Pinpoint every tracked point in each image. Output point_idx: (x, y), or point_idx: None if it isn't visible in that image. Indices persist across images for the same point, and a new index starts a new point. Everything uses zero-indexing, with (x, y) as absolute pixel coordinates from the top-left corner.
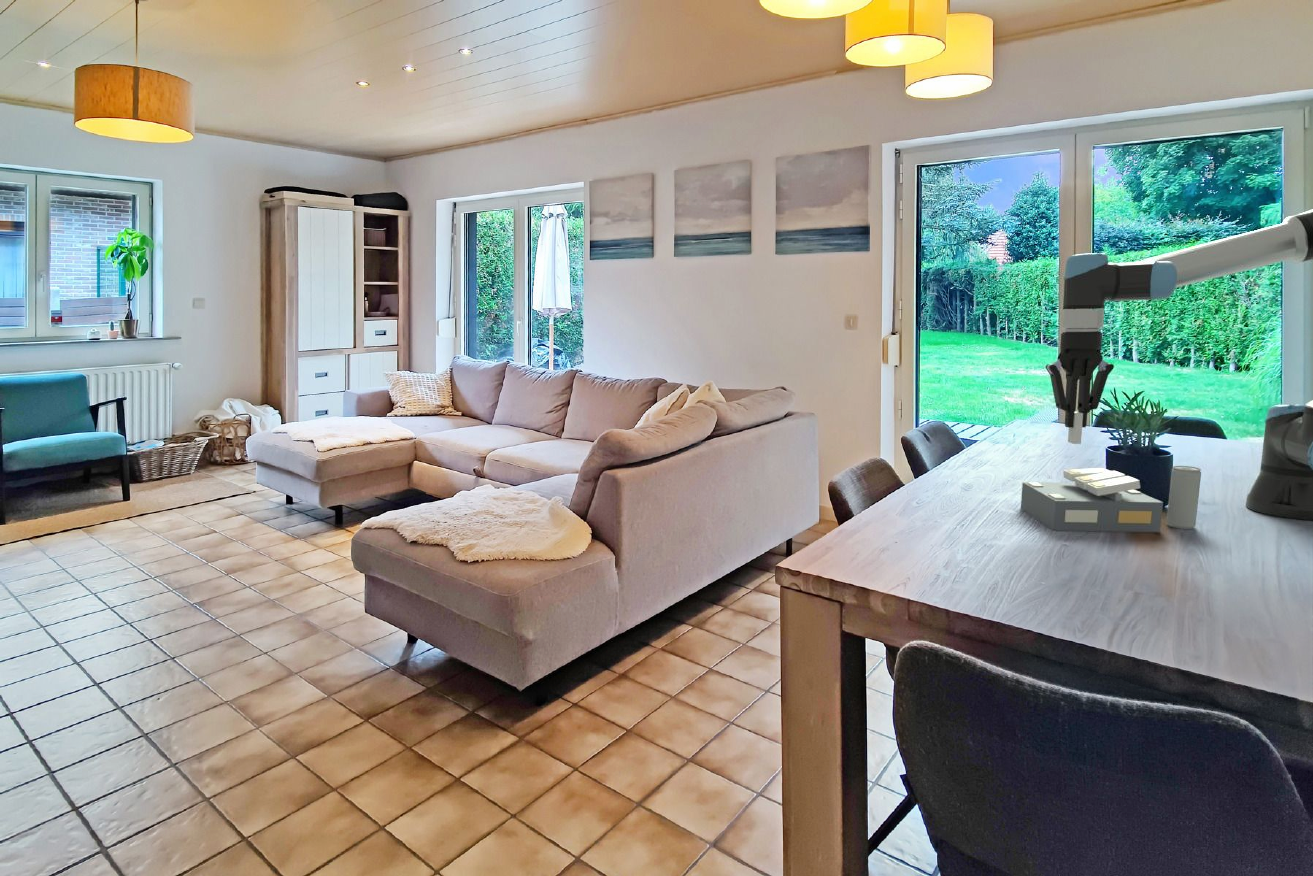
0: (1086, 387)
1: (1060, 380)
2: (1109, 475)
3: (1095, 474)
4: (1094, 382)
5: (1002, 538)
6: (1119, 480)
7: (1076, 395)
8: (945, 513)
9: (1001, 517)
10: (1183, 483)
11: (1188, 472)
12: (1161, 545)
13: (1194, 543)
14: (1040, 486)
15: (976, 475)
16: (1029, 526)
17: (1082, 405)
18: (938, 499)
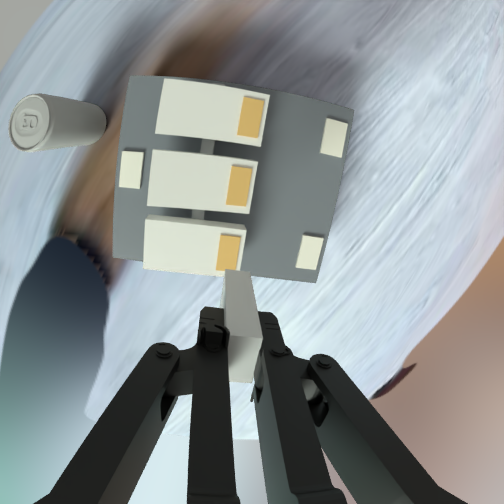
0: (216, 448)
1: (398, 474)
2: (182, 170)
3: (198, 205)
4: (131, 488)
5: (424, 98)
6: (194, 110)
7: (275, 408)
8: (428, 242)
9: (368, 208)
10: (61, 99)
11: (41, 96)
12: (203, 17)
13: (141, 28)
14: (309, 235)
15: (242, 437)
16: (356, 146)
17: (228, 366)
18: (388, 322)
